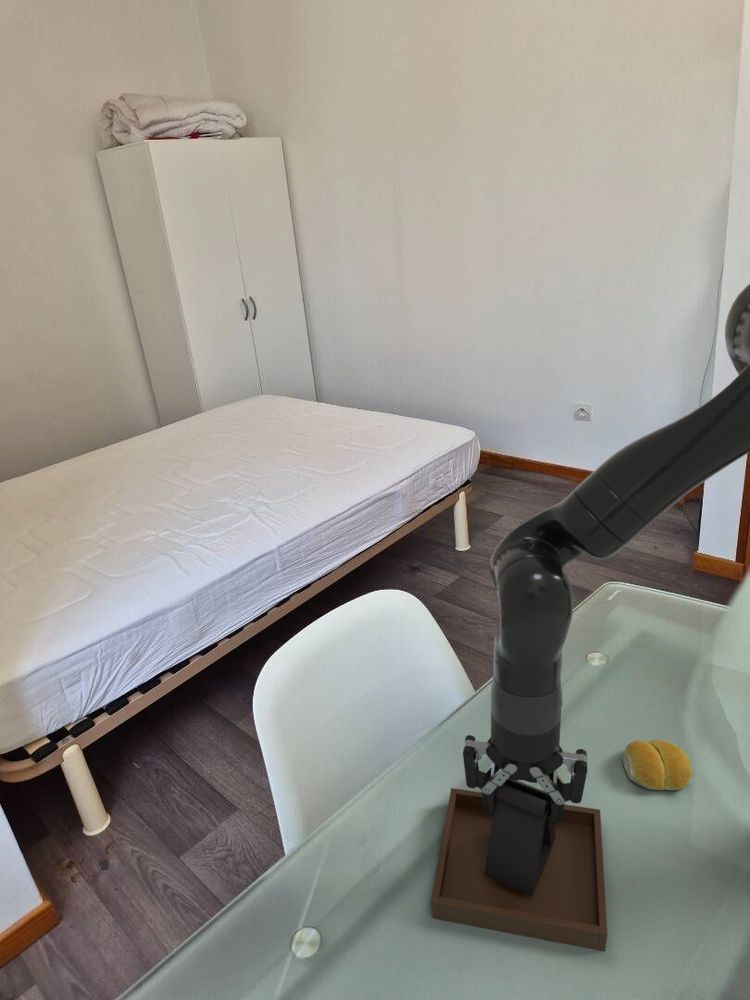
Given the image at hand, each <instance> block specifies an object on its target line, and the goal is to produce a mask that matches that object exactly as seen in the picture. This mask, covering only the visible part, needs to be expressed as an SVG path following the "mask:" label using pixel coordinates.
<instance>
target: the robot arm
mask: <svg viewBox="0 0 750 1000" xmlns="http://www.w3.org/2000/svg"><path fill="white" fill-rule="evenodd" d="M724 342H725V347H726V352H727V354H728V357H729V359H730V361H731V363H732V365H733V367H734V369H735V370H736V373H737V376H736V377H735V378H734V379H733V380H732V381H731V382H730V383H729V384H728V385H727V386H726V387H724V388H723V389H722V390H721V391H719V392H718V393H717V394H716V395H715V396H713V397H712V398H710V399H709V400H708V401H707V402H705V403H704V404H702V405H701V406H699V407H697V408H696V409H694V410H692V411H690V412H689V413H688V414H686V415H683V416H682V417H680V418H678V419H676V420H675V421H673V422H670V423H668V424H667V425H664V426H662V427H660V428H658V429H655V430H654V431H652V432H649V433H648V434H645V435H644V436H641V437H640V438H638V439H636V440H634V441H632V442H630V443H629V444H627V445H625V446H624V447H622V448H620V449H619V450H618V451H617V452H615V453H614V454H612V455H611V456H610V457H608V458H607V459H606V460H605V461H604V462H602V463H601V464H600V465H599V466H598V467H597V468H596V469H595V470H593V471H592V472H591V473H590V474H589V475H588V476H587V477H586V478H585V479H584V480H582V482H580V483H579V484H578V485H577V486H576V487H575V488H574V489H573V490H572V491H571V492H570V493H569V494H568V495H567V496H566V497H565V498H564V499H563V500H562V501H559V503H556V504H554V505H552V506H550V507H547V508H546V509H545V510H543V511H541V512H539V513H538V514H536V515H534V516H533V517H531V518H529V519H528V520H526V521H524V522H522V523H521V524H520V525H518V526H517V527H515V528H514V529H512V530H511V531H510V532H508V533H507V534H506V535H505V536H504V537H503V538H502V539H501V541H500V542H499V543H498V545H497V546H496V547H495V549H494V550H493V553H492V555H491V558H490V561H489V571H490V575H491V580H492V583H493V585H494V589H495V593H496V597H497V601H498V607H499V621H500V622H499V627H498V628H497V630H496V632H495V636H494V640H493V659H492V660H493V668H492V669H493V670H492V671H493V676H492V680H491V688H490V738H489V739H488V740H487V741H479V740H478V741H477V739H476V737H475V736H474V735H472V734H467V735H466V736H465V738H464V743H463V751H462V759H463V767H464V776H465V783H466V787H467V788H469V789H476V788H478V789H480V791H481V792H482V807H483V809H484V810H488V815H493V816H494V803H495V800H494V793H495V789H496V788H497V787H498V786H499V787H501V785H502V784H503V783H504V782H505V781H506V780H507V779H508V778H509V779H510V780H517V781H525V782H528V783H532V784H539V786H540V788H541V790H543V791H545V793H548V794H549V795H550V797H551V817H550V824H552V825H556V824H557V821H562V819H563V811H564V804H565V803H566V802H569V801H570V802H571V803H573V804H580V803H581V802H582V800H583V795H584V790H585V784H586V780H587V775H588V753H587V751H586V750H585V749H583V748H578V749H576V750H575V753H574V752H573V753H572V752H568V751H563V749H562V747H561V745H560V741H561V739H560V738H561V725H562V724H561V723H562V707H563V687H562V668H563V667H562V666H563V665H562V664H563V647H564V645H565V642H566V640H567V636H568V633H569V630H570V626H571V623H572V619H573V613H574V591H573V586H572V582H571V579H570V577H569V575H568V573H567V571H566V569H565V566H567V565H568V564H569V563H571V562H572V561H574V560H576V559H578V558H579V557H581V556H583V555H584V554H586V555H587V556H589V557H590V558H593V559H596V560H607V559H610V558H612V557H613V556H615V555H616V554H618V553H619V552H620V551H621V550H623V549H624V548H625V547H626V546H627V545H628V544H630V543H631V542H632V541H634V539H635V538H637V537H638V536H639V535H640V534H642V533H643V532H644V531H645V530H646V529H647V528H648V527H650V526H651V525H652V524H653V523H654V522H655V521H657V520H658V519H660V517H662V515H664V513H666V512H667V511H668V510H670V509H671V508H672V507H673V506H674V505H676V504H677V503H678V502H680V501H681V499H683V498H684V497H686V496H687V495H688V494H690V492H692V491H693V490H695V489H696V488H698V487H699V486H700V485H702V484H703V483H705V482H706V481H707V480H708V479H710V478H712V477H713V476H715V475H716V474H718V473H720V472H721V471H722V470H724V469H725V468H727V467H729V466H730V465H732V464H733V463H735V462H736V461H738V460H739V459H741V458H743V457H744V456H746V455H748V454H749V453H750V283H749V284H747V285H746V286H745V287H744V288H743V289H742V291H740V292H739V294H738V295H737V296H736V298H735V299H734V300H733V303H732V304H731V307H730V308H729V311H728V314H727V317H726V321H725V325H724ZM484 755H486V756H487V757H488V759H489V760H490V761H491V763H490V765H489V767H487V769H486V770H485V771H482V770H480V767H479V761H481V760H482V758H483V756H484ZM562 765H565V766H566V768H567V769H566V770H567V772H568V773H570V775H571V776H570V779H569V780H570V781H569V782H566V783H565V782H564V781H563V779H562V778H561V776H560V775H559V773H558V769H559V768H560V767H561V766H562Z"/></svg>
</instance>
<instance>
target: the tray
mask: <svg viewBox="0 0 750 1000" xmlns="http://www.w3.org/2000/svg"><path fill="white" fill-rule="evenodd" d="M492 819H493V815H488V810H484V809H483V807H482V791H481V792H480V791H474V790H467V789H461V788H454V787H451V788H450V792H449V798H448V804H447V810H446V815H445V822H444V825H443V833H442V839H441V843H440V848H439V849H440V850H439V854H438V855H439V856H438V861H437V866H436V872H435V879H434V884H433V889H432V896H431V899H430V901H431V904H430V905H431V918H432V919H433V920H434V919H435V920H440V921H446V922H450V923H455V924H461V925H466V926H472V927H477V928H482V929H487V930H492V931H498V932H502V933H507V934H513V935H518V936H524V937H529V938H534V939H538V940H543V941H550V942H554V943H560V944H565V945H570V946H575V947H580V948H585V949H590V950H591V949H592V950H595V951H600V952H601V951H602V952H606V949H607V948H606V947H607V942H608V941H607V940H608V923H607V906H606V887H605V870H604V853H603V837H602V836H603V835H602V817H601V809H598V808H591V807H585V806H579V805H570V804H565V803H564V811H563V819H562V821H557V824H556V825H554V829H555V835H556V839H555V842H554V844H553V847H552V849H551V852H550V854H549V857H548V859H547V862H546V864H545V866H544V869H543V871H542V874H541V876H540V879H539V881H538V884H537V886H536V889H535V891H534V894H533V896H532V897H531V896H529V895H527V894H524V893H522V892H520V891H518V890H516V889H514V888H512V887H509V886H507V885H505V884H503V883H501V882H499V881H497V880H494V879H492V878H490V877H488V876H486V875H484V874H485V867H486V860H487V853H488V846H489V839H490V833H491V826H492Z"/></svg>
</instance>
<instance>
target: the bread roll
mask: <svg viewBox="0 0 750 1000" xmlns="http://www.w3.org/2000/svg"><path fill="white" fill-rule="evenodd" d="M622 761H623V767H624V770H625V772H626V775H627V777H628V778H629V780H631V781H632V782H633V783H634V784H637V785H639V786H640V787H643V788H645V789H647V790H654V791H679V790H683V789H685V788H686V787H687V786H688V784H689V783H690V781H691V779H692V773H693V766H692V763H691V760H690V758H689V756H688V755H687V754H686V752H685V751H684V750H683V749H682V748H681V747H680V746H677V745H676V744H674V743H671V742H669V741H666V740H663V739H652V740H648V741H644V740H642V739H641V740H639V739H637V740H634V741H632V742H630V743H629V744H628V745H627V746H626V747H625V749H624V752H623V755H622Z"/></svg>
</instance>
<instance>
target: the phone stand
mask: <svg viewBox="0 0 750 1000" xmlns="http://www.w3.org/2000/svg"><path fill="white" fill-rule="evenodd" d="M494 800H495V803H494V816H493V819H492V826H491V833H490V839H489V846H488V853H487V860H486V867H485V874H484V875H486V876H488V877H490V878H492V879H494V880H497V881H499V882H501V883H503V884H505V885H507V886H509V887H512V888H514V889H516V890H518V891H520V892H522V893H524V894H527V895H529V896H531V897H532V896H533V894H534V891H535V889H536V886H537V884H538V881H539V879H540V876H541V874H542V871H543V869H544V866H545V864H546V862H547V859H548V857H549V854H550V852H551V849H552V847H553V844H554V842H555V839H556V835H555V829H554V825H552V824H550V817H551V797H550V795H549V794H548V793H545V791H544V790H543V789H540V788H537V787H534V786H532V785H530V784H527V783H525V782H522V781H521V780H510V779H509V778H508V779H507V780H506V781H505V782H504V783H503V784H502V785H501V787H499V786H498V787H497V788H496V789H495V793H494Z"/></svg>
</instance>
